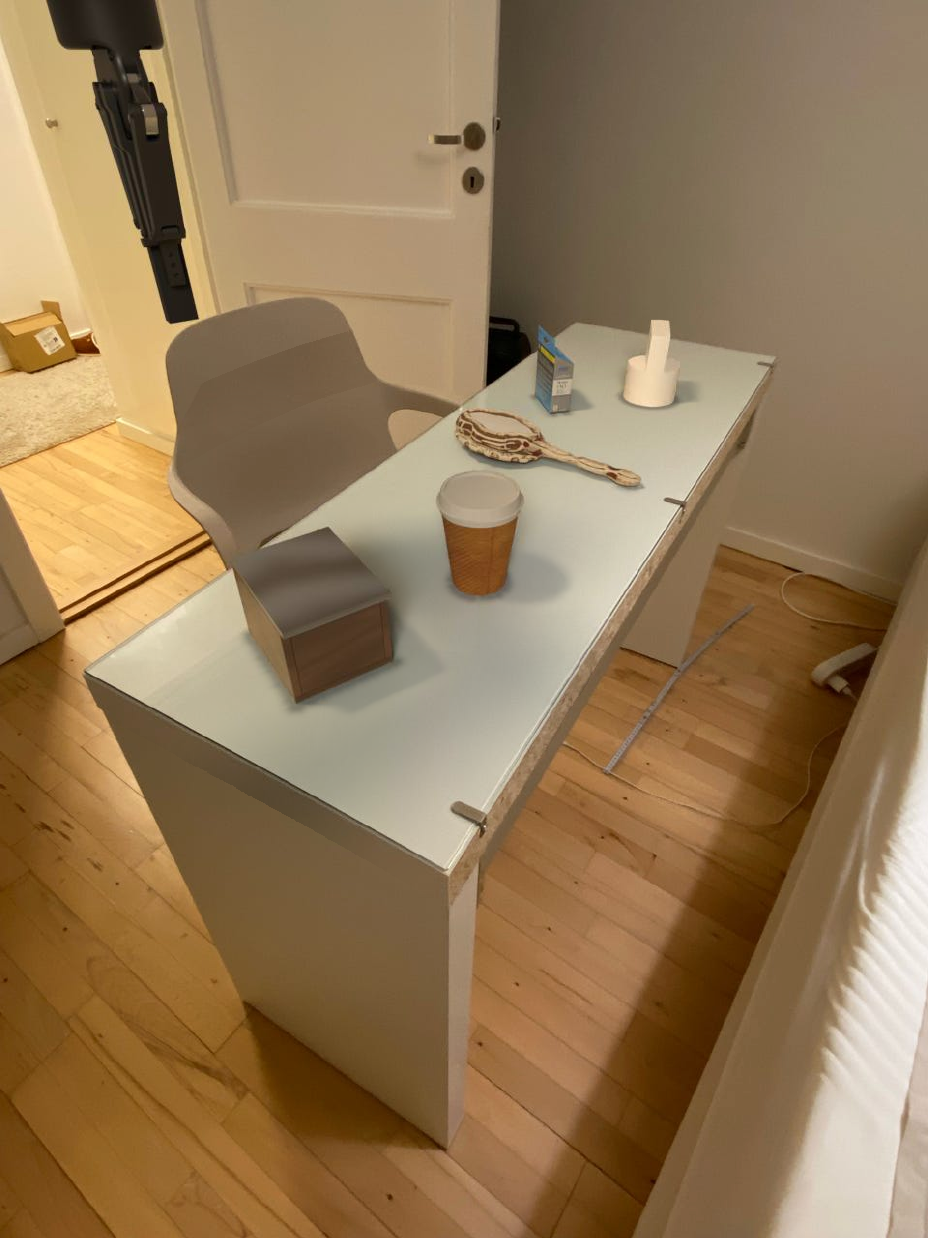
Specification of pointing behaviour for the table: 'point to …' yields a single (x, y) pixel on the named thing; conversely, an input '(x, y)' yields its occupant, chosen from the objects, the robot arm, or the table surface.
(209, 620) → the table surface
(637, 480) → the hand mirror
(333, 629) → the box
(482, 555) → the disposable coffee cup
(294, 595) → the lid
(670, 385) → the cylinder with rectangular tab
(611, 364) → the table surface
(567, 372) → the ink cartridge box
